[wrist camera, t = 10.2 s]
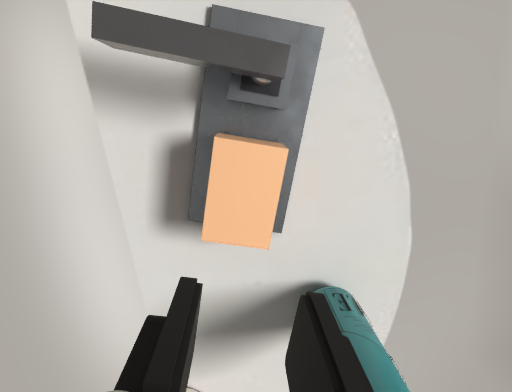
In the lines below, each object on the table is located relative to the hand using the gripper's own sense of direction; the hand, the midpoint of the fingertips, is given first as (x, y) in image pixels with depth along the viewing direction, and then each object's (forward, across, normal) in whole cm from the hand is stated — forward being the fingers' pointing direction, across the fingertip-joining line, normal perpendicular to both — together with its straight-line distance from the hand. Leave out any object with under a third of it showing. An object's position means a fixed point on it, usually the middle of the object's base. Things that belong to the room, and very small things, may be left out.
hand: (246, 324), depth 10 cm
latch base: (+21, 0, -5) cm, 22 cm away
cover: (+19, 0, 0) cm, 19 cm away
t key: (+17, +4, -10) cm, 20 cm away
